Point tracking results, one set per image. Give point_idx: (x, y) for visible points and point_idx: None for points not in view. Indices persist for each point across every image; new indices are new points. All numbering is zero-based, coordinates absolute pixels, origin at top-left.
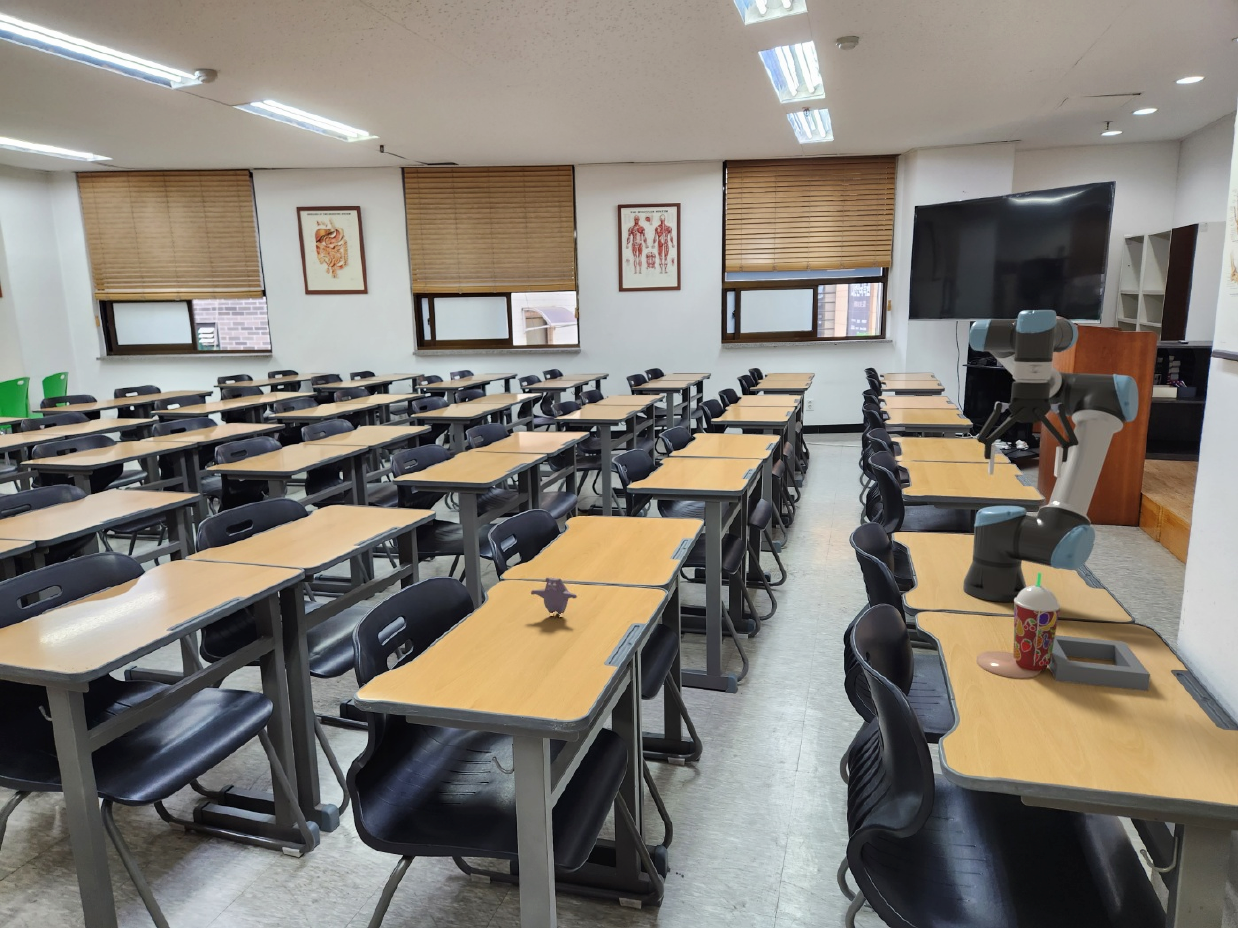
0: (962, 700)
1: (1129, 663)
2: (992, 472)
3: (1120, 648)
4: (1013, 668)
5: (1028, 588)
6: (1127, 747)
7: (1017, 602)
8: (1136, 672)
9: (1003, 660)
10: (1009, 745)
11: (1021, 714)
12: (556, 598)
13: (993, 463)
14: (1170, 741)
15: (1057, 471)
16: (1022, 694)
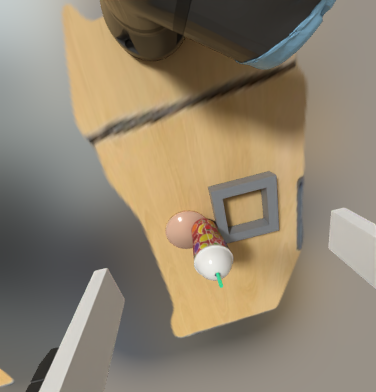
0: (168, 286)
1: (269, 219)
2: (120, 307)
3: (269, 192)
4: (191, 237)
5: (208, 277)
6: (247, 289)
7: (197, 271)
8: (270, 231)
9: (184, 228)
10: (196, 312)
11: (200, 285)
12: None
13: (111, 345)
14: (268, 275)
15: (347, 263)
16: None
